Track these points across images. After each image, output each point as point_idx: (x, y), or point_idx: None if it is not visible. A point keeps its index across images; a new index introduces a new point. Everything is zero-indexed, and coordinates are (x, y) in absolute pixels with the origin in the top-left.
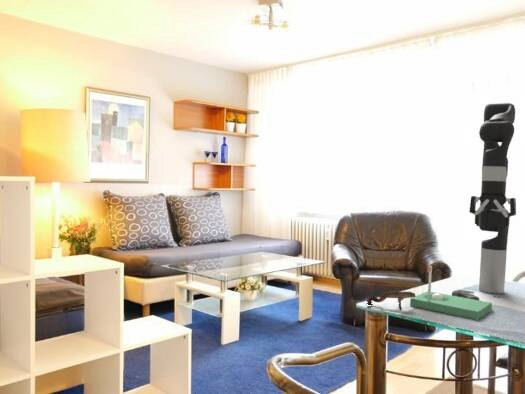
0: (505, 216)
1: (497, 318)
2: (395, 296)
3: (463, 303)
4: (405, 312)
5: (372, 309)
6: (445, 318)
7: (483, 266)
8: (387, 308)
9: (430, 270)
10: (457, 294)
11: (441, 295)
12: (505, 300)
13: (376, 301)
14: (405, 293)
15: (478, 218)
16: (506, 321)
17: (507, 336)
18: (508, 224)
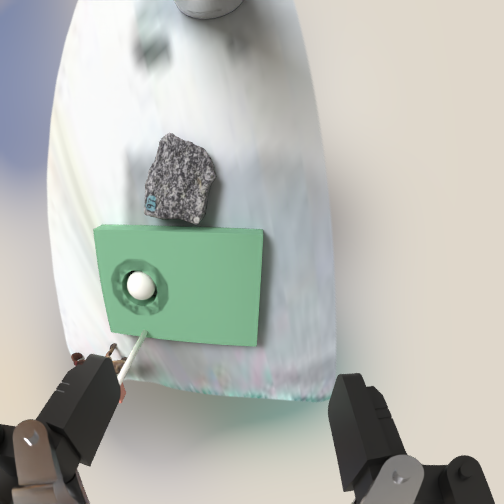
0: (361, 498)
1: (289, 298)
2: None
3: (207, 299)
4: (140, 370)
5: None
6: (205, 365)
7: None
8: None
9: (120, 382)
10: (161, 218)
11: (146, 288)
12: (270, 73)
13: None
14: (116, 373)
15: (96, 444)
16: (309, 308)
17: (317, 388)
18: (378, 408)
